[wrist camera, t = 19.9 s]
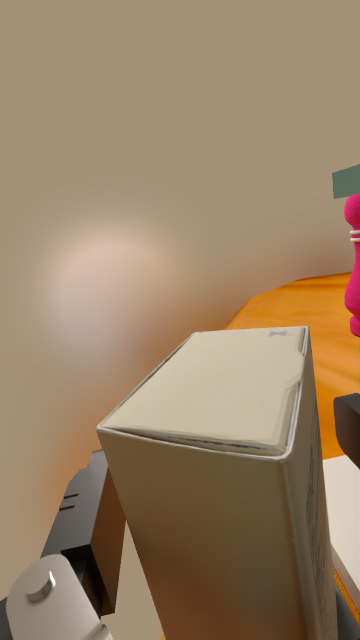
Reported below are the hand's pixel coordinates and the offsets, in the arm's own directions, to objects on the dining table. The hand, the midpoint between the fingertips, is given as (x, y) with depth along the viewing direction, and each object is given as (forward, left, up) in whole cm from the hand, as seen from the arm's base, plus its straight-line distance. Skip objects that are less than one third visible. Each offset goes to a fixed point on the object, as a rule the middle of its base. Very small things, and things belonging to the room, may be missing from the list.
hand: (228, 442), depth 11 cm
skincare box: (+1, +1, -9) cm, 9 cm away
